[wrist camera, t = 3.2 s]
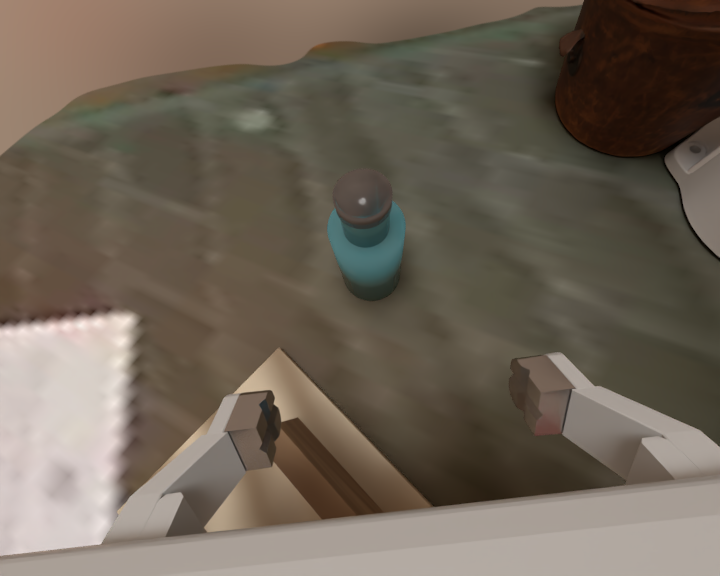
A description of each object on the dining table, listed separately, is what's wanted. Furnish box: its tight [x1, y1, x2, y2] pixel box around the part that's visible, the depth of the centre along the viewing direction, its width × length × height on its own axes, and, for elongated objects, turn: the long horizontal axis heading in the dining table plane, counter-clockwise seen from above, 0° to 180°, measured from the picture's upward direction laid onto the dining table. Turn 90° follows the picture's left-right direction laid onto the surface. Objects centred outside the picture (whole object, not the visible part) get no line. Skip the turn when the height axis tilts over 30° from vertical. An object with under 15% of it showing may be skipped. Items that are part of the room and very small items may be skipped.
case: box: [555, 0, 720, 157], centre depth 24 cm, size 18×20×18 cm
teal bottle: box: [327, 169, 405, 301], centre depth 23 cm, size 5×5×12 cm
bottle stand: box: [117, 348, 434, 532], centre depth 20 cm, size 16×18×6 cm
